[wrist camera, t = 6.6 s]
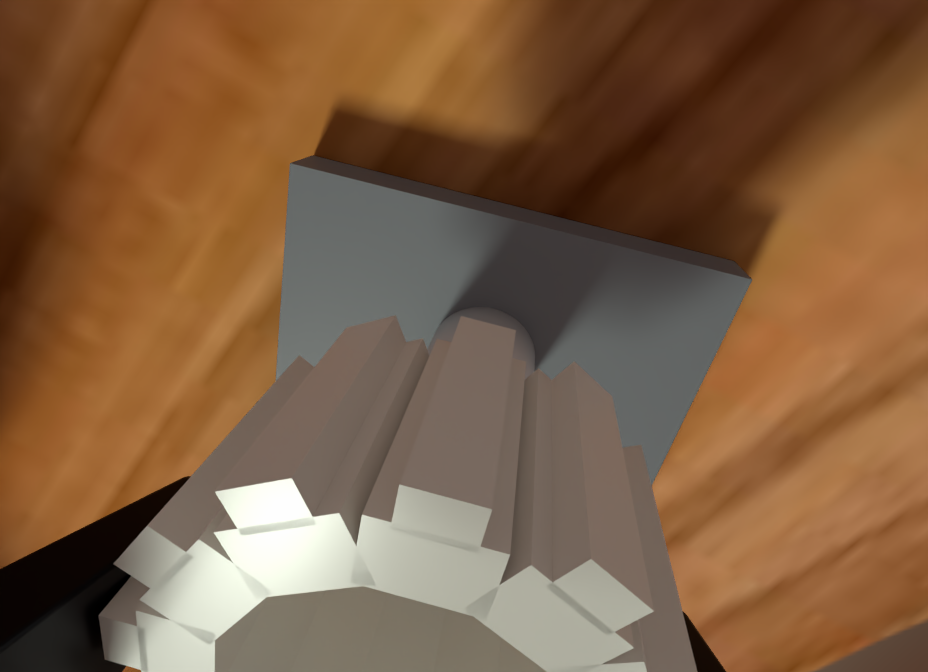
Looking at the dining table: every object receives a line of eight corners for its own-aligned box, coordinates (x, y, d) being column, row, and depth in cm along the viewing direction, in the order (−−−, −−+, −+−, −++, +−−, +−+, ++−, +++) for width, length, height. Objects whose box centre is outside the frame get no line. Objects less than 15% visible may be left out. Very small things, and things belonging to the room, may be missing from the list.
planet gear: (248, 577, 12) (122, 785, 9) (263, 264, 9) (67, 394, 5) (576, 667, 12) (586, 921, 8) (720, 382, 9) (842, 603, 5)
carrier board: (281, 533, 22) (184, 696, 16) (312, 155, 15) (167, 205, 10) (570, 613, 22) (577, 810, 16) (734, 261, 15) (850, 380, 9)
